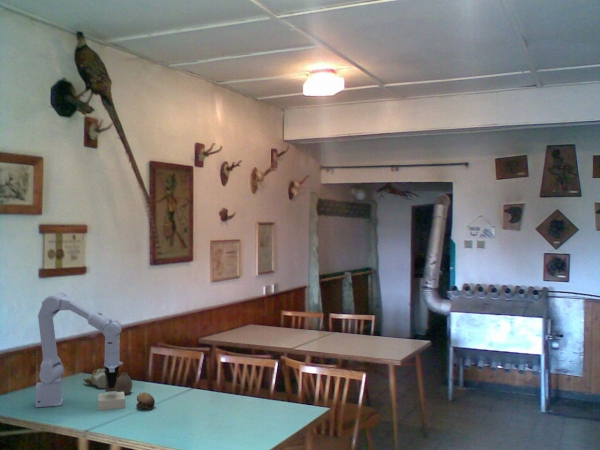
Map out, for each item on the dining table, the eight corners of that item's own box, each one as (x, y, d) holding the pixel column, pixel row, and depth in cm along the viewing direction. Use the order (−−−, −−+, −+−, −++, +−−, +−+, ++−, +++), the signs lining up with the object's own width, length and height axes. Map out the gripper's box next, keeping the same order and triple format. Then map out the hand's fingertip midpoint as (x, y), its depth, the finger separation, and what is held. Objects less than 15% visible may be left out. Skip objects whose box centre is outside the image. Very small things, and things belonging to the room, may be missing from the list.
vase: (129, 396, 245) (129, 375, 245) (113, 395, 245) (113, 375, 245) (134, 391, 252) (134, 371, 252) (118, 391, 252) (118, 370, 252)
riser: (98, 411, 227) (98, 401, 227) (98, 403, 236) (98, 393, 236) (125, 408, 230) (125, 398, 230) (123, 401, 239) (123, 391, 239)
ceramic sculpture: (95, 371, 251) (82, 366, 262) (95, 391, 251) (82, 385, 262) (118, 367, 258) (105, 363, 269) (118, 387, 258) (105, 382, 269)
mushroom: (128, 400, 229) (138, 387, 229) (141, 403, 236) (151, 390, 236) (138, 414, 225) (148, 401, 225) (151, 416, 231) (161, 403, 231)
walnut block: (105, 391, 230) (105, 379, 230) (105, 388, 234) (105, 376, 234) (117, 391, 231) (117, 378, 231) (117, 387, 236) (117, 375, 236)
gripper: (122, 355, 227) (122, 390, 227) (122, 347, 241) (121, 380, 241) (103, 356, 225) (103, 391, 225) (104, 348, 239) (104, 381, 239)
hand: (111, 386), depth 233 cm, fingers closed on walnut block, 4 cm apart
